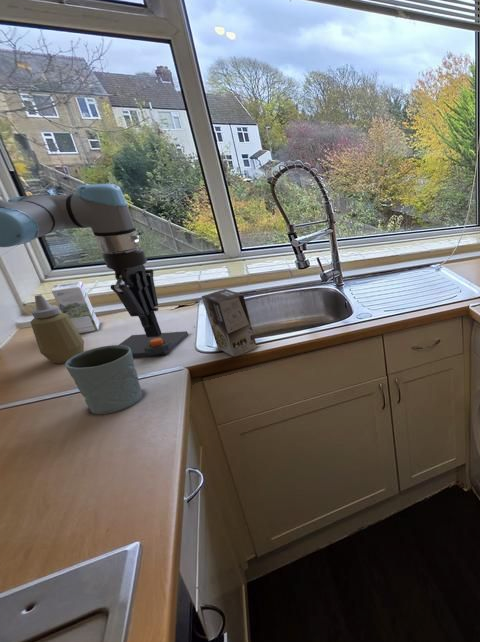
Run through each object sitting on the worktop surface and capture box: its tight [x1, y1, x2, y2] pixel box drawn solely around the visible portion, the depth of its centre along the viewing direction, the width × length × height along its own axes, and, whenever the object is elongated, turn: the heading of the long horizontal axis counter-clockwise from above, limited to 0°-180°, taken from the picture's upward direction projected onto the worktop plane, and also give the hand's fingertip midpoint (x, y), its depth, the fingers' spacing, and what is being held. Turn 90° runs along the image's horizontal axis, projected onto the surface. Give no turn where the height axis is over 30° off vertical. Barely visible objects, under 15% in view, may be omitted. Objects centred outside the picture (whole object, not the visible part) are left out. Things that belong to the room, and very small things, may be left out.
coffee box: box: [201, 288, 257, 358], centre depth 111 cm, size 9×6×16 cm
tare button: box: [150, 338, 164, 347], centre depth 109 cm, size 3×3×2 cm
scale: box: [118, 330, 189, 359], centre depth 112 cm, size 15×13×3 cm
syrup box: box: [51, 280, 100, 335], centre depth 119 cm, size 6×6×14 cm
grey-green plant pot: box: [64, 344, 143, 415], centre depth 88 cm, size 10×10×12 cm
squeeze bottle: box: [30, 294, 85, 364], centre depth 104 cm, size 8×8×18 cm
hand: (154, 335), depth 108 cm, fingers closed
